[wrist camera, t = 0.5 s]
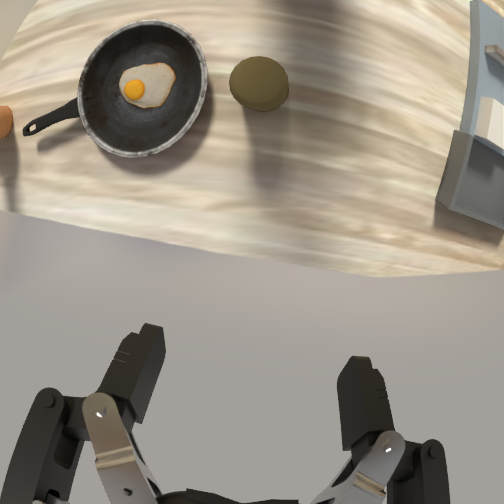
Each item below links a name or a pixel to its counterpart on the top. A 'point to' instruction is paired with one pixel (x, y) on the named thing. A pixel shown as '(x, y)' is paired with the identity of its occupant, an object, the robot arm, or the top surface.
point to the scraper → (495, 53)
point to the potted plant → (5, 121)
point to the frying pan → (137, 90)
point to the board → (483, 66)
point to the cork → (259, 83)
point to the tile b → (491, 122)
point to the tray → (473, 181)
